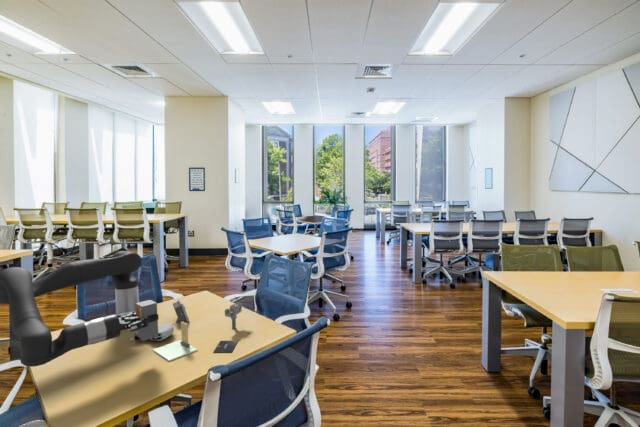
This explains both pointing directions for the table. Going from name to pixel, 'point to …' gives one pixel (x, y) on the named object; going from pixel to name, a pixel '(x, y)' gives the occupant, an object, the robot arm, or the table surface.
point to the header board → (177, 346)
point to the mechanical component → (233, 313)
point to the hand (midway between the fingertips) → (153, 314)
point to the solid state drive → (225, 347)
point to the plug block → (143, 311)
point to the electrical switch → (180, 311)
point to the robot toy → (159, 332)
